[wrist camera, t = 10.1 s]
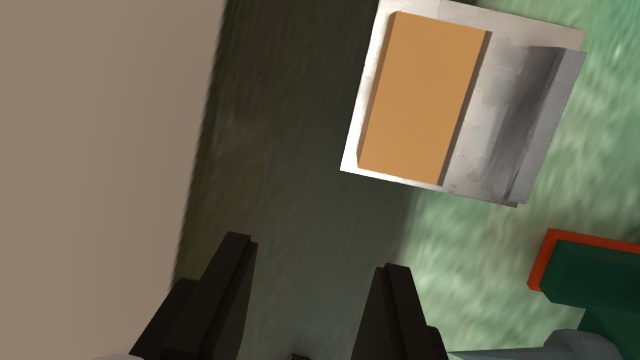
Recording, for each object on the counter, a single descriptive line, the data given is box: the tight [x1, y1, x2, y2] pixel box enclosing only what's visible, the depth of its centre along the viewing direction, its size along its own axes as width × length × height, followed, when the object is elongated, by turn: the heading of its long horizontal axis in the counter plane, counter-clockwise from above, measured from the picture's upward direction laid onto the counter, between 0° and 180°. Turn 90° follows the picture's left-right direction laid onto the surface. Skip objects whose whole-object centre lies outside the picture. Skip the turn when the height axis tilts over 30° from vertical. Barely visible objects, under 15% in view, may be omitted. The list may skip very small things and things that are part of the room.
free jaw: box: [356, 11, 493, 186], centre depth 33 cm, size 7×12×5 cm, turn 168°
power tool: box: [447, 228, 640, 360], centre depth 32 cm, size 32×7×20 cm, turn 80°
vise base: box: [340, 0, 587, 208], centre depth 34 cm, size 17×16×6 cm
